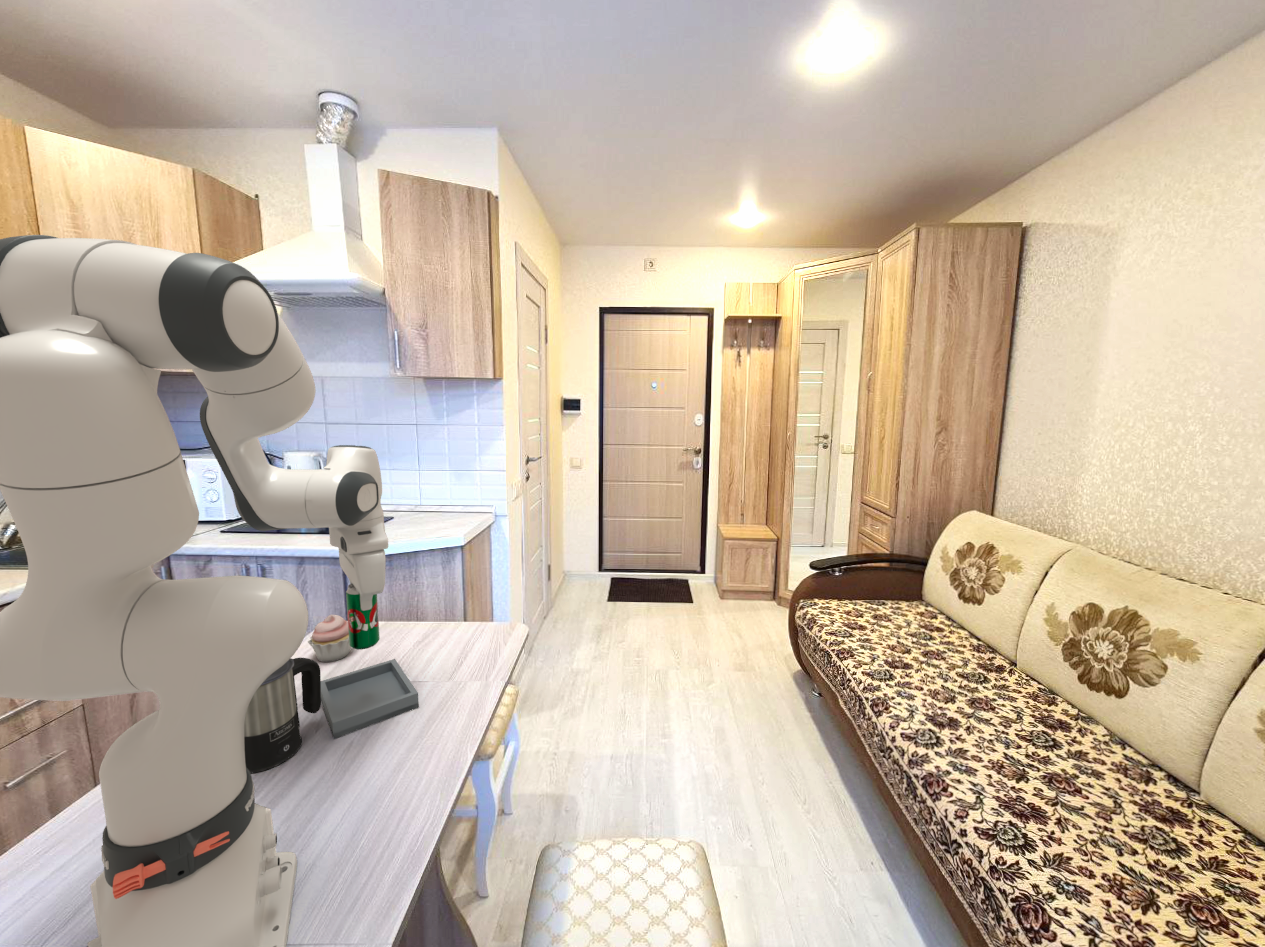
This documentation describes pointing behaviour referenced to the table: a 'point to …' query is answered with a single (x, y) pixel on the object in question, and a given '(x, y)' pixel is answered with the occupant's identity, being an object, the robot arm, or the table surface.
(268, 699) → the milk frother
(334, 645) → the cupcake
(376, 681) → the tray
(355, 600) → the soda can
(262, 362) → the robot arm
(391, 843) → the table surface
